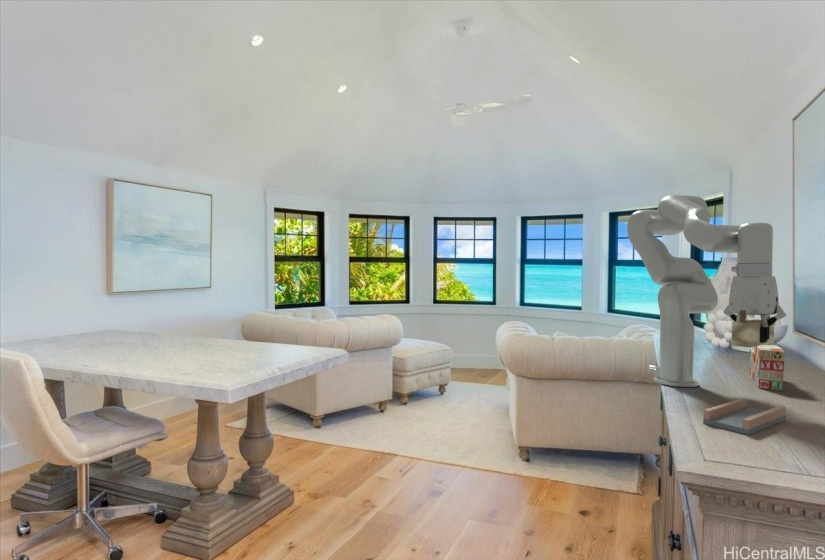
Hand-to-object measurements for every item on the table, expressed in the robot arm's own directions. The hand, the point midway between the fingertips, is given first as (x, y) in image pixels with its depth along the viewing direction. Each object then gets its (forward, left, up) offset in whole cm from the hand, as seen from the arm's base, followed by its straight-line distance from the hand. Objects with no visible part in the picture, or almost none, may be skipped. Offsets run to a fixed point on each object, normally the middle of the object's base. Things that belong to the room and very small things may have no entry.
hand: (753, 340), depth 129 cm
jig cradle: (+4, -15, -18) cm, 23 cm away
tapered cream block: (0, 0, -1) cm, 1 cm away
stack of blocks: (-11, +38, -18) cm, 43 cm away
